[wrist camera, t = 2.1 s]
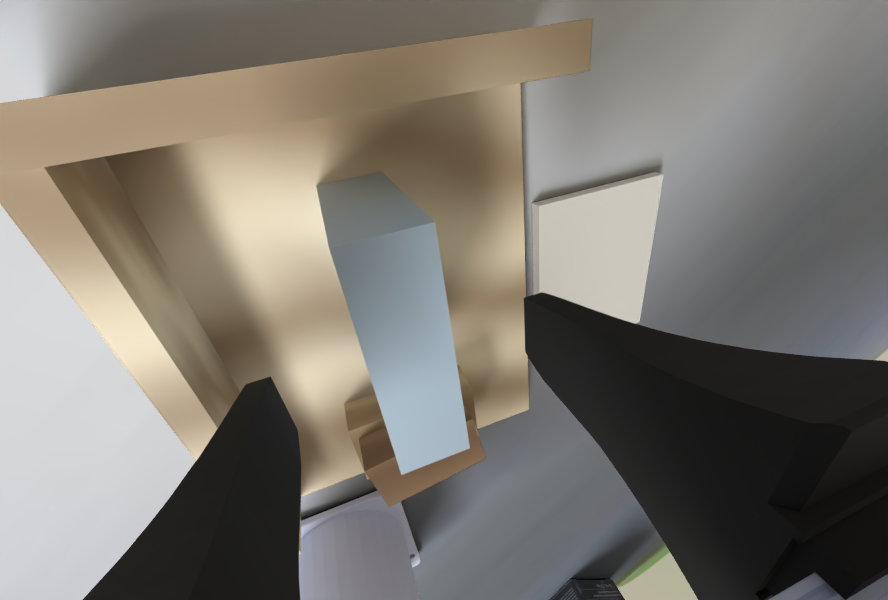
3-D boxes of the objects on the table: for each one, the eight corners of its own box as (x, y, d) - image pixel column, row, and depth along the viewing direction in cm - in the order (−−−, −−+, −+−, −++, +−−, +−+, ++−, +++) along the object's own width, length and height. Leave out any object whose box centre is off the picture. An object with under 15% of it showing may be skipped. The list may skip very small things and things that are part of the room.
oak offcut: (465, 412, 22) (478, 436, 20) (362, 450, 20) (367, 479, 19) (458, 364, 20) (471, 387, 18) (343, 403, 18) (348, 431, 17)
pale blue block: (418, 342, 18) (469, 448, 13) (369, 357, 18) (401, 475, 12) (381, 171, 14) (435, 221, 9) (316, 185, 13) (329, 248, 8)
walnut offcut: (471, 430, 20) (486, 458, 18) (381, 474, 19) (389, 507, 17) (457, 391, 18) (472, 419, 16) (358, 438, 17) (364, 471, 16)
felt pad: (632, 317, 24) (639, 321, 23) (534, 351, 22) (539, 357, 22) (654, 172, 19) (663, 174, 19) (532, 203, 18) (539, 206, 17)
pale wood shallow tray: (521, 398, 24) (567, 462, 20) (278, 489, 21) (273, 587, 17) (506, 39, 14) (592, 18, 10) (42, 108, 11) (-111, 118, 7)
